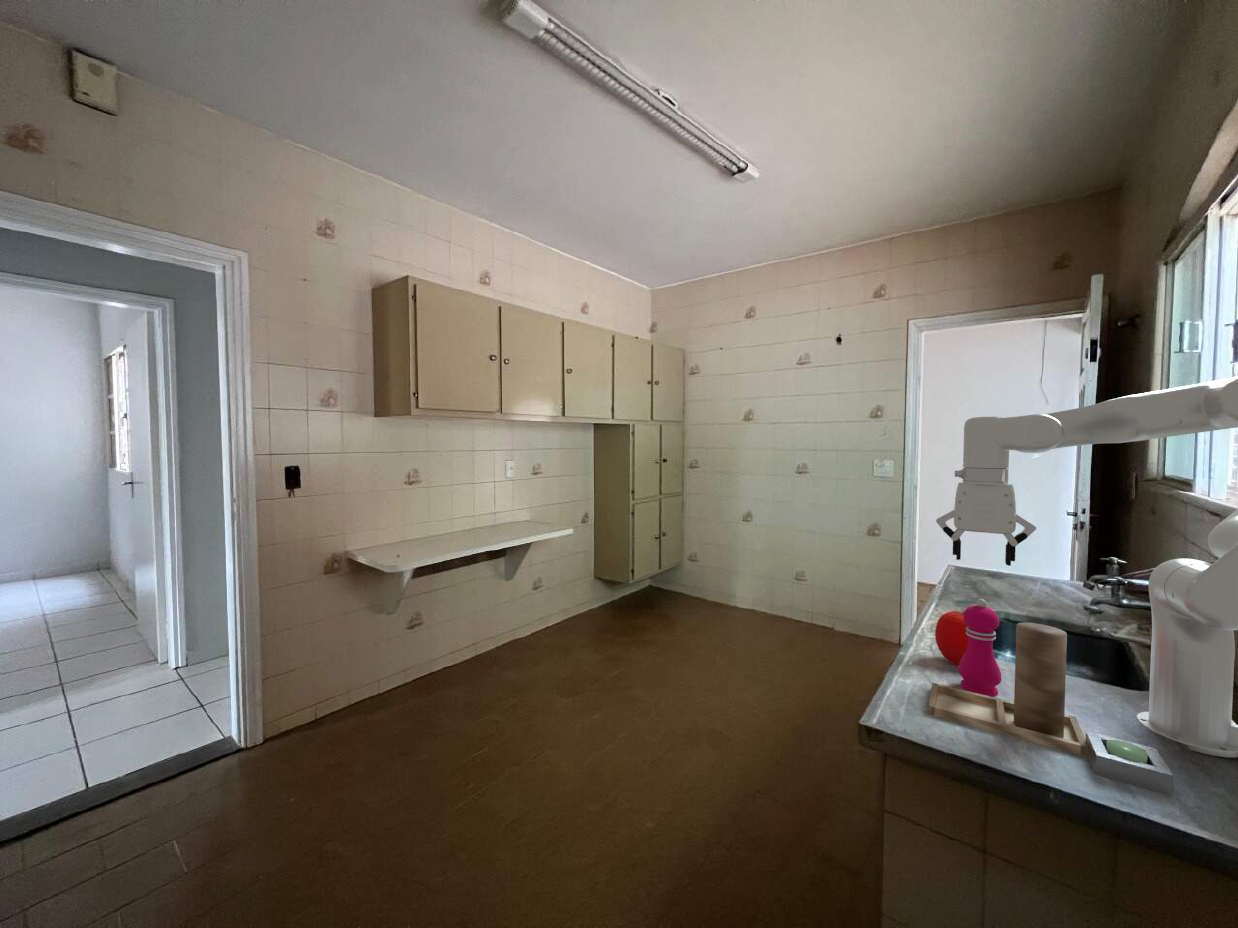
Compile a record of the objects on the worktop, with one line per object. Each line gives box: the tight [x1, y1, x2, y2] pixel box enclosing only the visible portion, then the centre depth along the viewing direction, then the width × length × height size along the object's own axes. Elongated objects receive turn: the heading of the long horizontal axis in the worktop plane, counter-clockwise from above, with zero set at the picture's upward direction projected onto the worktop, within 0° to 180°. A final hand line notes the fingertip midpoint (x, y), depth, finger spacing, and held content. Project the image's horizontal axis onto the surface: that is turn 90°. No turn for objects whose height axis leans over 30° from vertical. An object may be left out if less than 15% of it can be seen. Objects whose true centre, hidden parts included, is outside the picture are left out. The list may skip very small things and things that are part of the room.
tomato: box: [934, 610, 969, 667], centre depth 115 cm, size 11×11×13 cm
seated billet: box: [1013, 622, 1068, 738], centre depth 87 cm, size 7×7×18 cm
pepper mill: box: [958, 598, 1002, 698], centre depth 101 cm, size 7×7×20 cm
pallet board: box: [928, 682, 1089, 758], centre depth 90 cm, size 22×12×2 cm, turn 55°
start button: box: [1106, 739, 1147, 764], centre depth 76 cm, size 4×4×4 cm
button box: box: [1085, 730, 1174, 797], centre depth 76 cm, size 8×8×4 cm
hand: (982, 561), depth 101 cm, fingers open, 7 cm apart
